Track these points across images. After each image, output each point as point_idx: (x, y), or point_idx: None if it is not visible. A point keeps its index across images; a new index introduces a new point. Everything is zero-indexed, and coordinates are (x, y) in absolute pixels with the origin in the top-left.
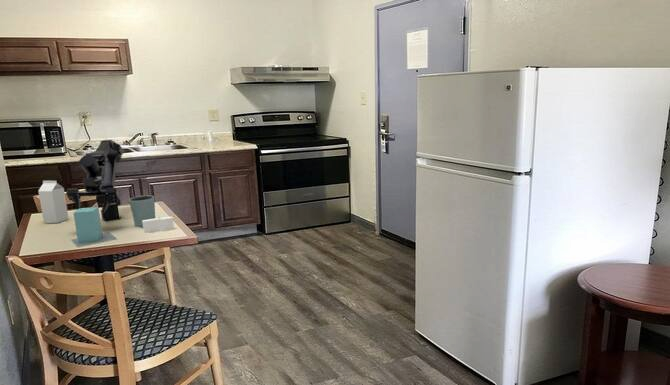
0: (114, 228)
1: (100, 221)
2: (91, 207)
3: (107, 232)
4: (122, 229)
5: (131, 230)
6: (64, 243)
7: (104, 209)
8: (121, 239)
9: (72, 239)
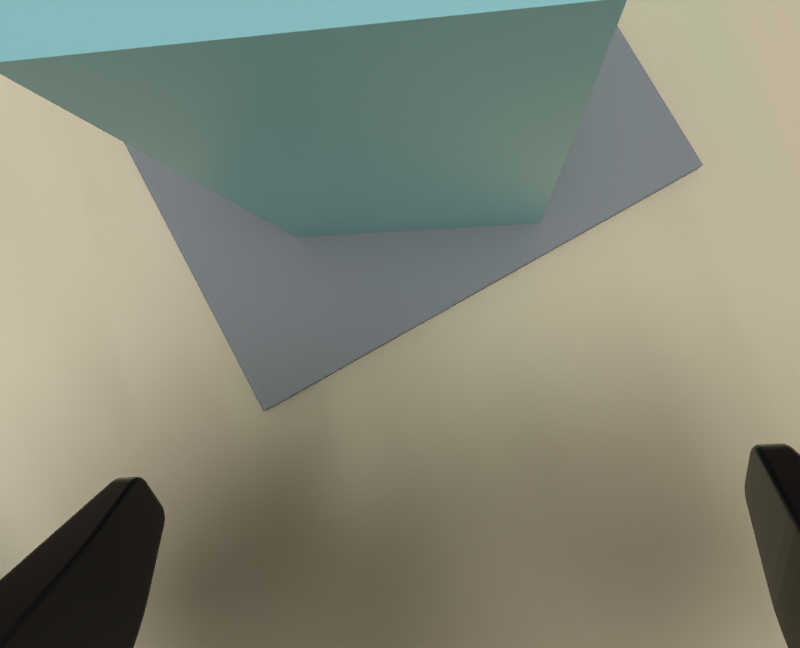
0: (253, 632)
1: (207, 181)
2: (192, 32)
3: (278, 397)
4: None
5: (5, 435)
6: (740, 41)
7: (80, 513)
8: None
9: (680, 169)
